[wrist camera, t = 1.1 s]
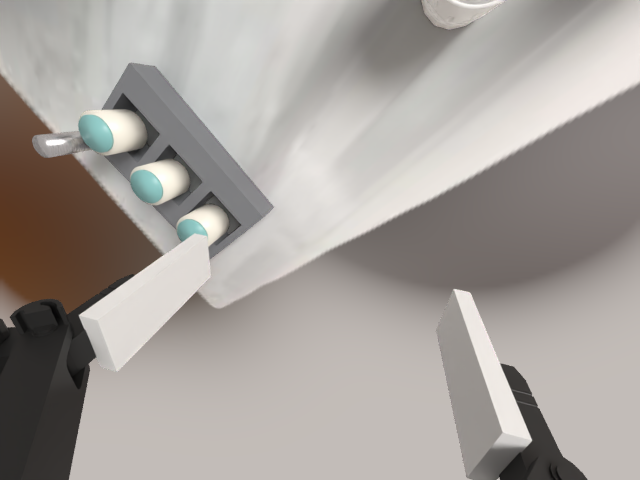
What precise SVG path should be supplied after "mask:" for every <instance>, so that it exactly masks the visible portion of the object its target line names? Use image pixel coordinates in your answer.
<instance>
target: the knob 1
mask: <svg viewBox="0 0 640 480" xmlns="http://www.w3.org/2000/svg"><path fill="white" fill-rule="evenodd" d="M79 132H80V135H81V137H82V139H83V140H84V142H85V143H86V144H87V145H88V146H89V147H90V148H91V149H92V150H93V151H95V152H96V153H98V154H100V155H105V156H107V155H112V154H117V153H122V152H127V151H132V150H137V149H141V148H143V147H144V146H145V145H146V143H147V138H148V135H147V129H146V127H145V124H144V123H143V121H142V120H141V118H140V117H139V116H138V115H137V114H136V113H134V112H133V111H131V110H128V109H114V110H89V111H85V112H83V113H82V114H81V116H80V118H79Z"/></svg>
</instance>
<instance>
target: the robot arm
mask: <svg viewBox="0 0 640 480" xmlns="http://www.w3.org/2000/svg"><path fill="white" fill-rule="evenodd" d="M210 277H211V270H210V260H209V250H208V239H207V236H204V235H200V234H195V233H194V234H193V235H192V236H190V237H189V238H187V239H186V240H185V241H183V242H182V243H180V244H179V245H178V246H176V247H175V248H173V249H172V250H170V251H169V252H168V253H166V254H165V255H163V256H162V257H161V258H159V259H158V260H156V261H155V262H153V263H152V264H151V265H149V266H148V267H146V268H145V269H144V270H142V271H141V272H139V273H138V274H136V275H133V274H132V275H129V276H126V277H124V278H121V279H119V280H117V281H116V282H114V283H113V284H112V285H110V286H109V287H108V288H106V289H104V290H103V291H101V292H100V293H99V294H97V295H95V296H94V297H92V298H91V299H90V300H88V301H86V302H85V303H84V304H82V305H81V306H79V307H78V308H76V309H75V310H73V311H72V312H71V313H69V314H66V312H65V310H64V308H63V305H62V303H61V302H59V301H58V300H55V299H44V300H39V301H35V302H32V303H29V304H27V305H25V306H22V307H21V308H19V309H18V310H16V311H15V312H14V313H13V314H12V315H11V316H10V318H11V320H12V322H13V324H14V325H15V327H11V328H7V327H6V325H5V324H4V322H3V320H2V319H0V480H69V475H70V470H71V464H72V459H73V454H74V449H75V444H76V439H77V434H78V429H79V424H80V419H81V413H82V408H83V403H84V397H85V393H86V387H87V382H88V377H89V372H90V367H89V363H90V362H91V361H92V360H93V359H94V358H95V357H96V358H97V361H98V363H99V366H100V367H102V368H105V369H108V370H112V371H115V372H117V371H119V370H120V369H121V368H122V366H123V365H124V364H125V363H126V362H127V361H128V360H129V359H130V358H131V357H132V356H133V355H134V354H135V353H136V352H137V351H138V350H139V349H140V348H141V347H142V346H143V345H144V344H145V343H146V342H147V341H148V340H149V339H150V338H151V337H152V336H153V335H154V334H155V333H156V332H157V331H158V330H159V329H160V328H161V327H162V326H163V325H164V324H165V323H166V322H167V321H168V320H169V319H170V318H171V317H172V316H173V315H174V314H175V313H176V312H177V311H178V310H179V309H180V308H181V307H182V306H183V304H185V302H186V301H187V300H188V299H189V298H190V297H191V296H192V295H193V294H194V293H195V292H196V291H197V290H198V289H199V288H200V287H201V286H202V285H203V284H204V283H205V282H206V281H207V280H208V279H209V278H210ZM436 331H437V336H438V341H439V346H440V351H441V356H442V361H443V366H444V370H445V375H446V380H447V385H448V390H449V394H450V399H451V404H452V409H453V414H454V419H455V424H456V428H457V433H458V438H459V443H460V448H461V453H462V457H463V462H464V467H465V472H466V477H467V478H469V479H472V480H497V479H498V478H499V477H500V480H587V478H586V477H585V476H584V474H583V473H582V472H581V471H580V470H579V469H578V468H577V467H576V466H575V465H574V464H573V463H571V462H570V461H568V460H567V459H565V458H564V457H563V456H562V454H561V453H560V450H559V449H558V447H557V444H556V442H555V440H554V438H553V436H552V434H551V432H550V430H549V428H548V426H547V424H546V422H545V420H544V418H543V415H542V414H541V411H540V409H539V408H538V407H537V406H538V405H537V403H536V401H535V399H534V397H532V393H531V391H530V389H529V387H528V384H527V383H526V380H525V379H524V378H523V377H522V376H521V374H520V373H519V372H518V371H517V370H516V369H515V368H514V367H513V366H509V365H505V364H500V363H499V360H498V358H497V356H496V353H495V351H494V348H493V346H492V343H491V341H490V339H489V337H488V334H487V332H486V329H485V327H484V325H483V322H482V320H481V317H480V315H479V313H478V310H477V308H476V305H475V303H474V301H473V298H472V296H471V294H470V292H466V291H461V290H456V289H453V292H452V294H451V296H450V299H449V301H448V303H447V305H446V308H445V310H444V312H443V315H442V317H441V319H440V322H439V324H438V326H437V328H436Z"/></svg>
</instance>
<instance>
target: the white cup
mask: <svg viewBox="0 0 640 480" xmlns="http://www.w3.org/2000/svg"><path fill="white" fill-rule="evenodd" d="M421 1H422V6H423V10H424V14H425V15H426V16H427V17H428V18H429V20H430V21H431V22H432V23H433V24H434V25H435V26H438V27H441V28H445V29H448V30H451V29H455V28H459V27H463V26H467V25H468V24H469V23H471V22H473V21H475V20H477V19H479V18H481V17H482V16H484V15H486V14H487V13H489V12H490V11H492V10H493V9H495V8H496V7H498V6H499V5H501V4H502V3H503V2H505V1H506V0H421Z"/></svg>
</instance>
